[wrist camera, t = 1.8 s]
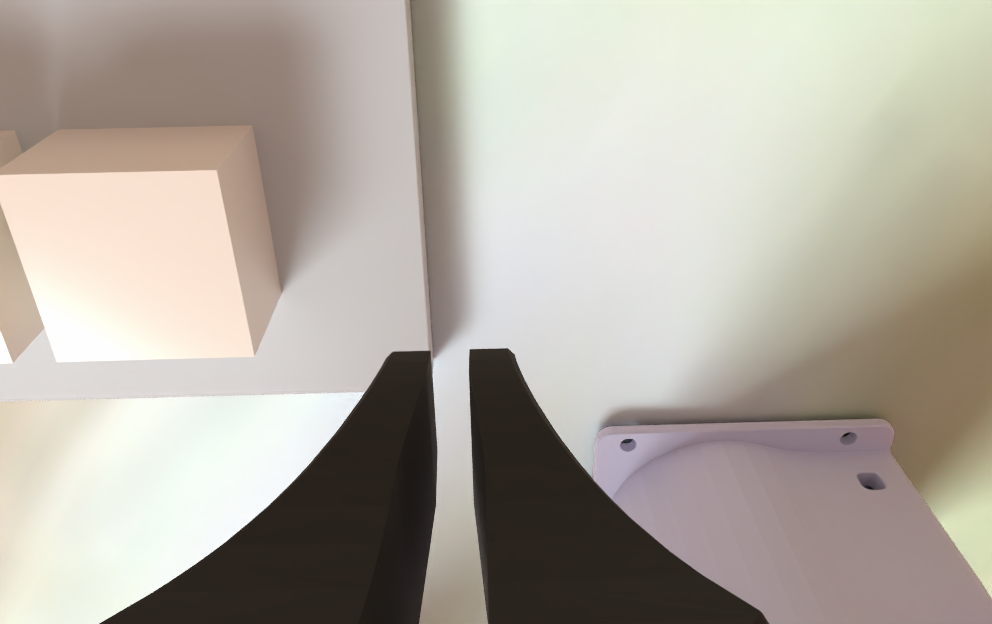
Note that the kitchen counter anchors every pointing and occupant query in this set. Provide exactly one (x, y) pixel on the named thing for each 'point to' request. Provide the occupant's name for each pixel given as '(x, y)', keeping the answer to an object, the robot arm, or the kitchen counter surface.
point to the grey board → (283, 164)
